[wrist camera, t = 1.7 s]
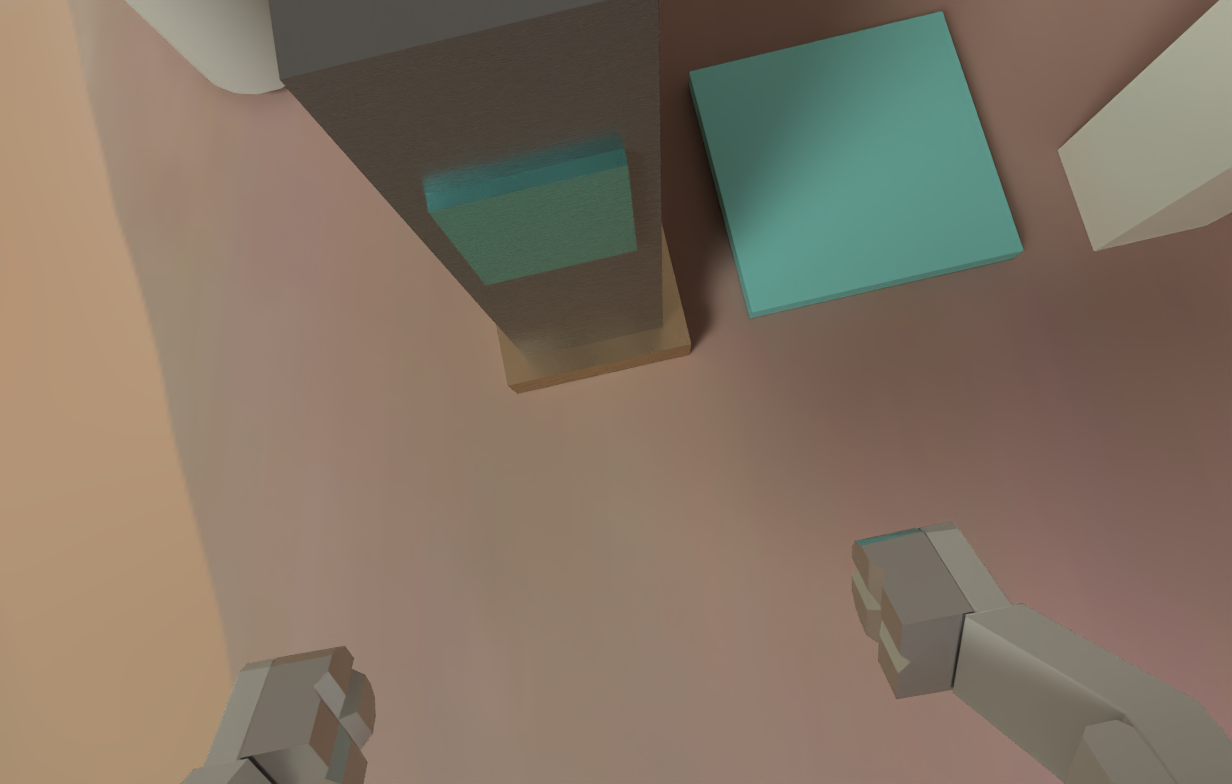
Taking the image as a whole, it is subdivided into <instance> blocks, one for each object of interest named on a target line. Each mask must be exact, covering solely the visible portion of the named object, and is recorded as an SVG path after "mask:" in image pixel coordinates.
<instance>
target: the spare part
mask: <svg viewBox="0 0 1232 784" xmlns="http://www.w3.org/2000/svg"><path fill="white" fill-rule="evenodd" d="M1058 153H1059V156H1060V159H1061V162H1062V164H1063V167H1064V170H1065V173H1066V176H1067V178H1068V181H1069V184H1070V187H1071V190H1072V192H1073V195H1074V198H1075V201H1076V203H1077V206H1078V209H1079V212H1080V215H1081V217H1082V220H1083V223H1084V226H1085V229H1086V231H1087V234H1088V237H1089V240H1090V243H1091V245H1092V248H1093V251H1098V250H1103V249H1107V248H1111V247H1116V246H1120V245H1125V244H1129V243H1133V242H1138V241H1142V240H1147V239H1151V238H1155V237H1160V236H1164V235H1169V234H1173V233H1177V232H1182V231H1186V230H1191V229H1195V228H1199V227H1204V226H1207V225H1209V224H1211V223H1212V222H1214V221H1216V220H1218V219H1220V218H1222V217H1224V216H1226V215H1227V214H1229V213H1231V212H1232V0H1219V1H1218V2H1217V3H1216V4H1214V5H1213V6H1212V7H1211V8H1210V9H1209V10H1208V11H1207V12H1206V13H1205V14H1204V15H1203V16H1202V17H1200V18H1199V19H1198V20H1197V21H1196V22H1195V23H1194V24H1193V25H1192V26H1191V27H1190V28H1189V29H1188V30H1186V31H1185V32H1184V33H1183V34H1182V35H1181V36H1180V37H1179V38H1178V39H1177V40H1176V41H1175V42H1174V43H1173V44H1171V45H1170V46H1169V47H1168V48H1167V49H1166V50H1165V51H1164V52H1163V53H1162V54H1161V55H1160V56H1159V57H1157V58H1156V59H1155V60H1154V61H1153V62H1152V63H1151V64H1150V65H1149V66H1148V67H1147V68H1146V69H1145V70H1143V71H1142V72H1141V73H1140V74H1139V75H1138V76H1137V77H1136V78H1135V79H1134V80H1133V81H1132V82H1131V83H1129V84H1128V85H1127V86H1126V87H1125V88H1124V89H1123V90H1122V91H1121V92H1120V93H1119V94H1118V95H1117V96H1115V97H1114V98H1113V99H1112V100H1111V101H1110V102H1109V103H1108V104H1107V105H1106V106H1105V107H1104V108H1103V109H1101V110H1100V111H1099V112H1098V113H1097V114H1096V115H1095V116H1094V117H1093V118H1092V119H1091V120H1090V121H1089V122H1087V123H1086V124H1085V125H1084V126H1083V127H1082V128H1081V129H1080V130H1079V131H1078V132H1077V133H1076V134H1075V135H1074V136H1072V137H1071V138H1070V139H1069V140H1068V141H1067V142H1066V143H1065V144H1064V145H1063V146H1062V147H1061V148H1060V149H1058Z"/></svg>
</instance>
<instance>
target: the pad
mask: <svg viewBox="0 0 1232 784" xmlns="http://www.w3.org/2000/svg"><path fill="white" fill-rule="evenodd" d="M688 84H689V88H690V92H691V96H692V100H693V104H694V107H695V111H696V115H697V119H698V123H699V127H700V130H701V134H702V138H703V142H704V146H705V150H706V153H707V157H708V161H709V165H710V169H711V173H712V176H713V180H714V184H715V188H716V192H717V196H718V200H719V203H720V207H721V211H722V215H723V219H724V223H725V226H726V230H727V234H728V238H729V242H730V246H731V249H732V253H733V257H734V261H735V265H736V269H737V272H738V276H739V280H740V284H741V288H742V292H743V295H744V299H745V303H746V307H747V311H748V315H749V318H755V317H759V316H763V315H768V314H772V313H777V312H781V311H785V310H790V309H794V308H798V307H803V306H807V305H812V304H816V303H820V302H825V301H829V300H833V299H838V298H842V297H847V296H851V295H855V294H860V293H864V292H869V291H873V290H877V289H882V288H886V287H890V286H895V285H899V284H904V283H908V282H912V281H917V280H921V279H926V278H930V277H934V276H939V275H943V274H947V273H952V272H956V271H961V270H965V269H969V268H974V267H978V266H983V265H987V264H991V263H996V262H1000V261H1004V260H1009V259H1013V258H1014V257H1016V256H1017V255H1018V254H1020V253H1021V252H1022V251H1024V250H1023V247H1022V244H1021V241H1020V238H1019V236H1018V233H1017V230H1016V227H1015V224H1014V221H1013V218H1012V215H1011V212H1010V209H1009V206H1008V203H1007V200H1006V197H1005V194H1004V191H1003V188H1002V185H1001V183H1000V180H999V177H998V174H997V171H996V168H995V165H994V162H993V159H992V156H991V153H990V150H989V147H988V144H987V141H986V138H985V135H984V132H983V130H982V127H981V124H980V121H979V118H978V115H977V112H976V109H975V106H974V103H973V100H972V97H971V94H970V91H969V88H968V85H967V82H966V79H965V77H964V74H963V71H962V68H961V65H960V62H959V59H958V56H957V53H956V50H955V47H954V44H953V41H952V38H951V35H950V32H949V29H948V27H947V24H946V21H945V18H944V15H943V12H942V11H940V12H936V13H932V14H928V15H924V16H919V17H915V18H911V19H907V20H903V21H899V22H894V23H890V24H886V25H882V26H878V27H873V28H869V29H865V30H861V31H857V32H853V33H848V34H844V35H840V36H836V37H832V38H827V39H823V40H819V41H815V42H811V43H806V44H802V45H798V46H794V47H790V48H786V49H781V50H777V51H773V52H769V53H765V54H760V55H756V56H752V57H748V58H744V59H740V60H735V61H731V62H727V63H723V64H719V65H714V66H710V67H706V68H702V69H698V70H693V71H689V83H688Z"/></svg>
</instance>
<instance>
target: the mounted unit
mask: <svg viewBox="0 0 1232 784" xmlns="http://www.w3.org/2000/svg"><path fill="white" fill-rule="evenodd" d="M268 3H269V10H270V16H271V23H272V30H273V37H274V44H275V51H276V58H277V65H278V72H279V79H280V81H281V82H282V83H283V84H284V85H285V86H286V87H287V88H288V90H289V91H290V92H291V93H292V94H293V95H294V96H295V97H296V99H297V100H298V101H299V102H300V103H301V104H302V105H303V107H304V108H305V109H306V110H307V111H308V112H309V113H310V114H311V116H312V117H313V118H314V119H315V120H316V121H317V122H318V123H319V125H320V126H321V127H322V128H323V129H324V130H325V131H326V132H327V134H328V135H329V136H330V137H331V138H332V139H333V140H334V142H335V143H336V144H337V145H338V146H339V147H340V148H341V149H342V151H343V152H344V153H345V154H346V155H347V156H348V157H349V158H350V160H351V161H352V162H353V163H354V164H355V165H356V166H357V168H358V169H359V170H360V171H361V172H362V173H363V174H364V175H365V177H366V178H367V179H368V180H369V181H370V182H371V183H372V184H373V186H374V187H375V188H376V189H377V190H378V191H379V192H380V194H381V195H382V196H383V197H384V198H385V199H386V200H387V201H388V203H389V204H390V205H391V206H392V207H393V208H394V209H395V210H396V212H397V213H398V214H399V215H400V216H401V217H402V218H403V220H404V221H405V222H406V223H407V224H408V225H409V226H410V227H411V229H412V230H413V231H414V232H415V233H416V234H417V235H418V236H419V238H420V239H421V240H422V241H423V242H424V243H425V244H426V246H427V247H428V248H429V249H430V250H431V251H432V252H433V253H434V255H435V256H436V257H437V258H438V259H439V260H440V261H441V262H442V264H443V265H444V266H445V267H446V268H447V269H448V270H449V271H450V273H451V274H452V275H453V276H454V277H455V278H456V279H457V281H458V282H459V283H460V284H461V285H462V286H463V287H464V288H465V290H466V291H467V292H468V293H469V294H470V295H471V296H472V297H473V299H474V300H475V301H476V302H477V303H478V304H479V305H480V307H481V308H482V309H483V310H484V311H485V312H486V313H487V314H488V316H489V317H490V318H491V319H492V320H493V321H494V322H495V323H496V326H497V332H498V337H499V342H500V347H501V352H502V358H503V363H504V368H505V373H506V378H507V384H508V386H509V387H510V388H511V389H512V390H514V391H515V392H516V393H517V394H518V393H522V392H527V391H531V390H535V389H540V388H544V387H549V386H553V385H557V384H562V383H566V382H571V381H575V380H579V379H584V378H588V377H593V376H597V375H601V374H606V373H610V372H615V371H619V370H623V369H628V368H632V367H637V366H641V365H645V364H650V363H654V362H659V361H663V360H667V359H672V358H676V357H681V356H685V355H689V354H690V349H691V341H690V337H689V332H688V328H687V324H686V320H685V316H684V312H683V308H682V304H681V300H680V295H679V291H678V287H677V283H676V279H675V275H674V271H673V267H672V263H671V258H670V254H669V250H668V246H667V242H666V238H665V234H664V230H663V226H662V217H661V141H660V65H659V0H268Z"/></svg>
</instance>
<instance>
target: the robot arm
mask: <svg viewBox="0 0 1232 784" xmlns="http://www.w3.org/2000/svg"><path fill="white" fill-rule="evenodd" d="M852 558H853V560H854V562H855V565H856V567H857V569H858V570H857V571H856V572H855V573H854V574H853V576H852V593H853V598H854V602H855V607H856V610H857V613H858V616H859V619H860V622H861V624H862V626H863V628H864V631H865V633H866V635H867V636H869V637H870V638H872V639H873V640H875V641H876V642H878V643H879V651H878V661H879V663H880V665H881V668H882V670H883V672H884V674H885V676H886V678H887V680H888V682H889V685H890V687H891V689H892V691H893V693H894V695H895V697H896V699H900V698H906V697H912V696H918V695H924V694H930V693H936V692H942V691H948V690H953V693H954V694H955V695H956V696H958V697H959V698H960V699H961V700H962V701H964V702H965V703H966V704H967V705H969V706H970V707H971V708H972V709H974V710H975V711H976V712H977V713H979V714H980V715H981V716H982V717H984V718H985V719H986V720H987V721H989V722H990V723H991V724H992V725H994V726H995V727H996V728H997V729H998V730H1000V731H1001V732H1002V733H1003V734H1005V735H1006V736H1007V737H1008V738H1010V739H1011V740H1012V741H1013V742H1015V743H1016V744H1017V745H1018V746H1020V747H1021V748H1022V749H1023V750H1025V751H1026V752H1027V753H1028V754H1030V755H1031V756H1032V757H1033V758H1034V759H1036V760H1037V761H1038V762H1039V763H1041V764H1042V765H1043V766H1044V767H1046V768H1047V769H1048V770H1049V771H1051V772H1052V773H1053V774H1054V775H1056V776H1057V777H1058V778H1059V779H1061V780H1062V781H1063V782H1064V784H1232V740H1231V739H1230V738H1229V737H1228V736H1227V734H1226V733H1225V732H1224V731H1223V730H1222V728H1221V727H1220V726H1219V725H1218V724H1217V722H1216V721H1215V720H1214V719H1213V718H1212V716H1211V715H1210V714H1209V713H1208V712H1207V710H1206V709H1205V708H1204V707H1203V706H1202V704H1201V703H1200V702H1199V701H1197V700H1196V699H1194V698H1192V697H1190V696H1188V695H1187V694H1185V693H1183V692H1181V691H1179V690H1178V689H1176V688H1174V687H1172V686H1170V685H1169V684H1167V683H1165V682H1163V681H1161V680H1160V679H1158V678H1156V677H1154V676H1152V675H1151V674H1149V673H1147V672H1145V671H1143V670H1142V669H1140V668H1138V667H1136V666H1134V665H1133V664H1131V663H1129V662H1127V661H1125V660H1124V659H1122V658H1120V657H1118V656H1116V655H1115V654H1113V653H1111V652H1109V651H1107V650H1106V649H1104V648H1102V647H1100V646H1098V645H1097V644H1095V643H1093V642H1091V641H1089V640H1088V639H1086V638H1084V637H1082V636H1080V635H1079V634H1077V633H1075V632H1073V631H1071V630H1070V629H1068V628H1066V627H1064V626H1062V625H1061V624H1059V623H1057V622H1055V621H1053V620H1052V619H1050V618H1048V617H1046V616H1044V615H1043V614H1041V613H1039V612H1037V611H1035V610H1034V609H1032V608H1030V607H1028V606H1026V605H1025V604H1023V603H1022V604H1016V605H1012V603H1011V602H1010V601H1009V599H1008V598H1007V596H1006V595H1005V593H1004V592H1003V590H1002V589H1001V588H1000V586H999V585H998V583H997V582H996V580H995V579H994V578H993V576H992V575H991V573H990V572H989V570H988V569H987V567H986V566H985V565H984V563H983V562H982V560H981V559H980V557H979V556H978V555H977V553H976V552H975V550H974V549H973V547H972V546H971V544H970V543H969V542H968V540H967V539H966V537H965V536H964V534H963V533H962V532H961V530H960V529H959V527H958V526H957V525H956V524H954V523H953V522H946V523H941V524H936V525H931V526H926V527H921V528H918V529H916V528H913V529H908V530H904V531H899V532H894V533H890V534H885V535H881V536H876V537H871V538H867V539H862V540H858V541H855V542H854V544H853V546H852ZM353 660H354V657H353V656H352V655H351V653H350V652H349V651H348V649H347V648H346V647H345V646H342V647H335V648H330V649H324V650H318V651H313V652H307V653H301V654H295V655H290V656H284V657H278V658H273V659H268V660H263V661H258V662H253V663H247V664H246V665H245V666H244V668H243V669H242V670H241V671H240V672H239V674H238V676H237V679H236V681H235V684H234V687H233V689H232V692H231V694H230V697H229V700H228V702H227V705H226V708H225V710H224V713H223V716H222V719H221V721H220V724H219V726H218V729H217V732H216V734H215V737H214V740H213V743H212V745H211V748H210V750H209V753H208V756H207V758H206V761H205V764H204V766H203V767H201V768H197V769H193V770H192V772H191V773H190V774H189V775H188V776H187V777H186V778H185V779H184V780H183V781H182V783H180V784H363V783H364V778H365V773H366V767H367V760H366V759H365V757H364V755H363V753H362V752H361V748H362V747H363V746H364V745H365V743H366V742H367V741H368V739H369V738H370V737H371V735H372V734H373V729H374V723H375V717H376V713H375V696H374V693H373V690H372V686H371V684H370V682H369V680H368V679H367V677H366V676H365V674H362V673H360V672H358V671H355V670H353V669H352V665H353Z"/></svg>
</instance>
